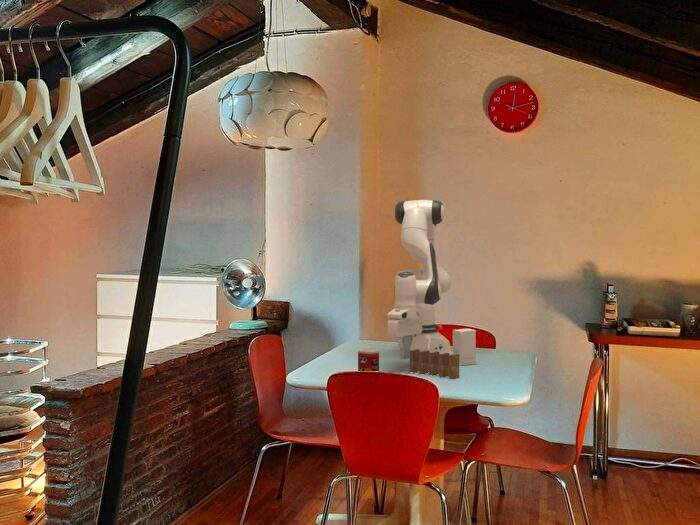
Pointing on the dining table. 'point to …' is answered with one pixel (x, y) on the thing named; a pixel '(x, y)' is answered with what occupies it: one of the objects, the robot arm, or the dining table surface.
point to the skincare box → (465, 345)
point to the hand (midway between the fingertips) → (405, 347)
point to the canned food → (368, 360)
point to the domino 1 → (405, 348)
